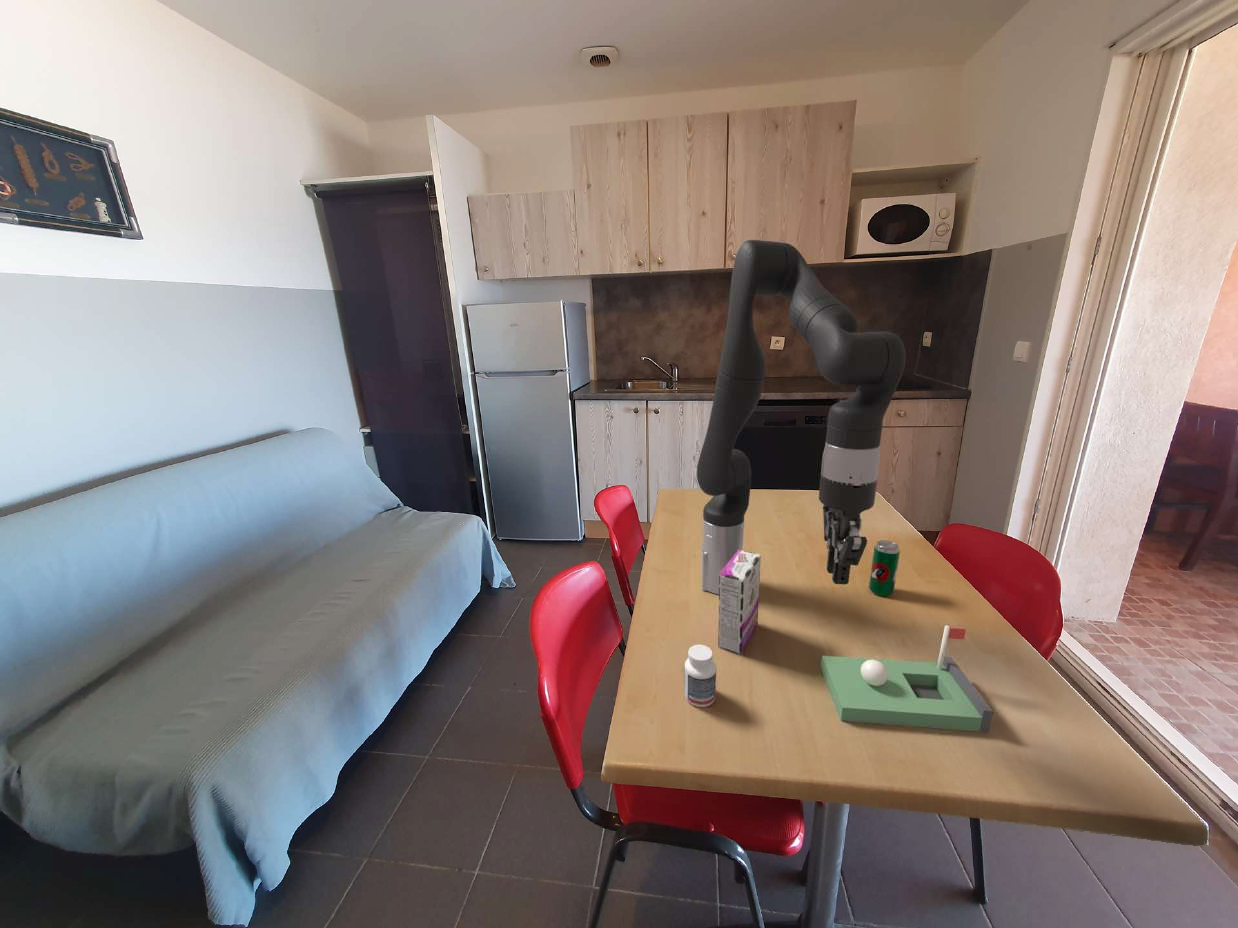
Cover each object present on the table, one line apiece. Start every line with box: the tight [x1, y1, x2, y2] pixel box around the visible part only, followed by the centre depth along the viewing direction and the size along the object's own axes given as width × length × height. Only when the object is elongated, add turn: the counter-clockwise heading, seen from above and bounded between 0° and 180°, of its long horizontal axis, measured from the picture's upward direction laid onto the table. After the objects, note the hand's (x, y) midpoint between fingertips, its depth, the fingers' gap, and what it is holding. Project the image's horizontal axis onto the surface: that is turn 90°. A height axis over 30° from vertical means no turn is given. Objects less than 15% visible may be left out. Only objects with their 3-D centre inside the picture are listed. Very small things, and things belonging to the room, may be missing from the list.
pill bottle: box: [683, 644, 717, 708], centre depth 80 cm, size 5×5×9 cm
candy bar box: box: [717, 549, 762, 655], centre depth 94 cm, size 11×5×16 cm, turn 148°
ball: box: [861, 660, 888, 686], centre depth 79 cm, size 4×4×4 cm
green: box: [820, 624, 994, 733], centre depth 78 cm, size 22×12×11 cm, turn 82°
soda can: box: [868, 540, 901, 598], centre depth 108 cm, size 5×5×12 cm
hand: (837, 577), depth 75 cm, fingers closed
